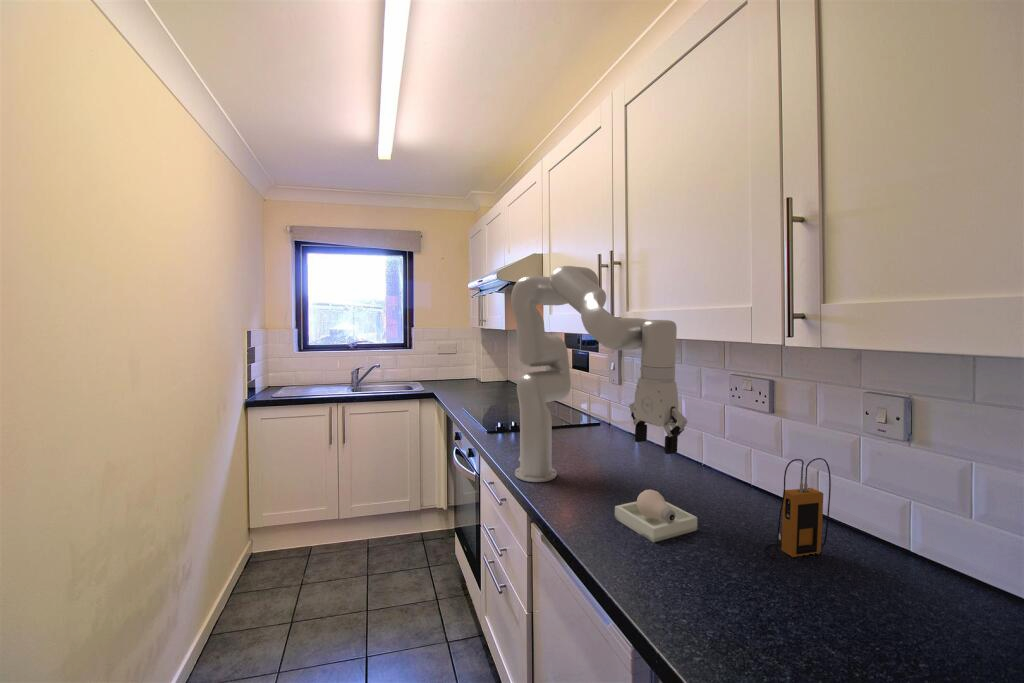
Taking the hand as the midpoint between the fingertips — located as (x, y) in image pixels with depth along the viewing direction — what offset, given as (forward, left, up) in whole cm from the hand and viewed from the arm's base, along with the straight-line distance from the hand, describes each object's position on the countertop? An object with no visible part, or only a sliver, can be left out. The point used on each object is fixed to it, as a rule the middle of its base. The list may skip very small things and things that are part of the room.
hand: (655, 447), depth 106 cm
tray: (0, 0, -18) cm, 18 cm away
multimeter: (+20, +19, -19) cm, 33 cm away
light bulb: (+2, -1, -17) cm, 17 cm away
